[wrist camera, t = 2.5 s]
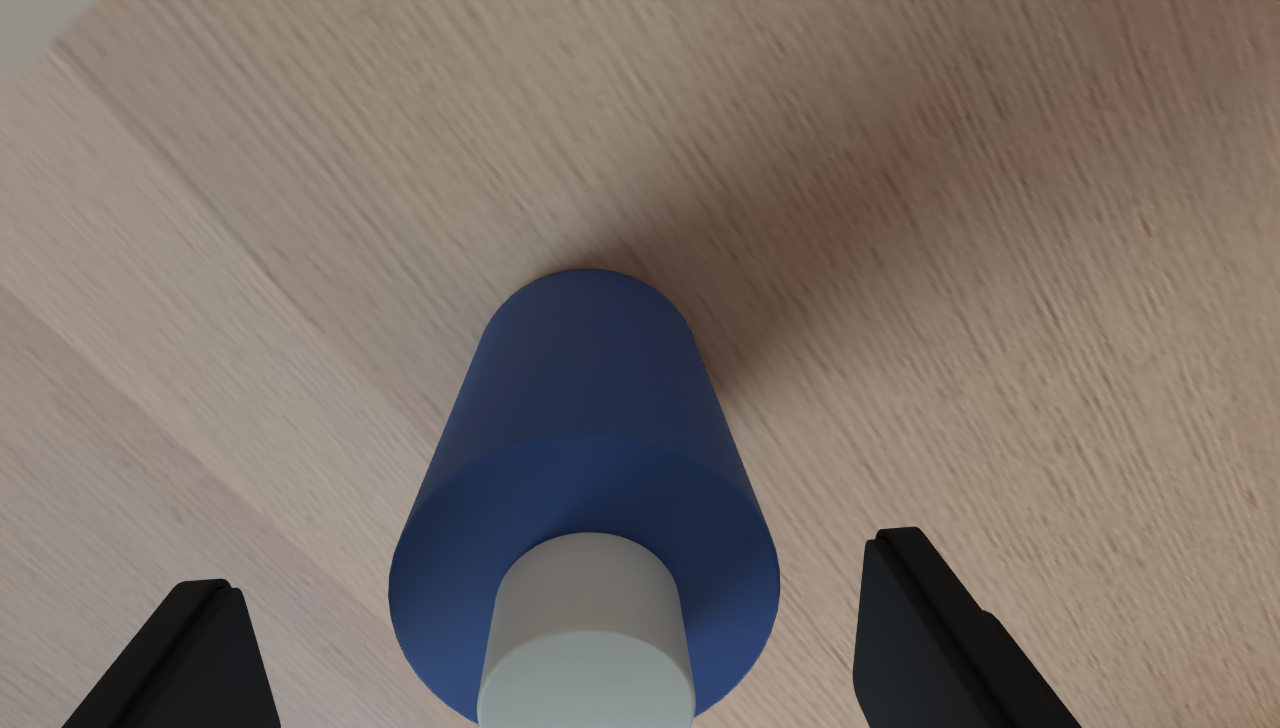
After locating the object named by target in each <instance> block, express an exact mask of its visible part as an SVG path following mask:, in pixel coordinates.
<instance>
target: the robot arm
mask: <svg viewBox="0 0 1280 728" xmlns="http://www.w3.org/2000/svg"><path fill="white" fill-rule="evenodd" d="M853 685H854V690H855V694H856V697H857V700H858V702H859V704H860V707H861V709H862V711H863V713H864V716H865V718H866V720H867V722H868V724H869V727H870V728H1082V727H1081V726H1080V724H1079V723H1078V722H1077V721H1076V719H1075V718H1074V717H1073V715H1072V714H1071V713H1070V712H1069V710H1068V709H1067V708H1066V706H1065V705H1064V704H1063V703H1062V701H1061V700H1060V699H1059V697H1058V696H1057V695H1056V694H1055V692H1054V691H1053V690H1052V688H1051V687H1050V686H1049V685H1048V683H1047V682H1046V681H1045V679H1044V678H1043V677H1042V676H1041V674H1040V673H1039V672H1038V670H1037V669H1036V668H1035V667H1034V665H1033V664H1032V663H1031V661H1030V660H1029V659H1028V657H1027V656H1026V655H1025V654H1024V652H1023V651H1022V650H1021V648H1020V647H1019V646H1018V645H1017V643H1016V642H1015V641H1014V639H1013V638H1012V637H1011V636H1010V634H1009V633H1008V632H1007V630H1006V629H1005V628H1004V627H1003V625H1002V624H1001V623H1000V621H999V620H998V619H997V618H996V617H995V616H994V615H993V614H991V613H989V612H987V611H985V610H983V611H982V609H981V608H980V607H979V605H978V604H977V603H976V601H975V600H974V599H973V598H972V596H971V595H970V594H969V592H968V591H967V590H966V588H965V587H964V586H963V584H962V583H961V582H960V580H959V579H958V578H957V576H956V575H955V574H954V573H953V571H952V570H951V569H950V567H949V566H948V565H947V563H946V562H945V561H944V559H943V558H942V557H941V555H940V554H939V553H938V552H937V550H936V549H935V548H934V546H933V545H932V544H931V542H930V541H929V540H928V538H927V537H926V536H925V534H924V533H923V532H922V531H921V530H920V529H919V528H917V527H904V528H890V529H881V530H879V531H878V532H877V534H876V538H875V539H872V540H868V541H867V542H866V545H865V551H864V561H863V572H862V582H861V592H860V602H859V613H858V623H857V633H856V644H855V654H854V664H853ZM62 728H281V724H280V720H279V716H278V713H277V710H276V706H275V703H274V699H273V696H272V692H271V689H270V685H269V682H268V678H267V675H266V672H265V668H264V665H263V661H262V658H261V654H260V651H259V647H258V644H257V641H256V637H255V634H254V630H253V627H252V623H251V620H250V616H249V613H248V609H247V606H246V603H245V599H244V596H243V593H242V591H241V590H240V589H239V588H231V585H230V583H229V582H228V581H227V580H225V579H209V580H196V581H184V582H181V583H178V584H177V585H176V586H175V587H174V588H173V589H172V590H171V592H170V593H169V594H168V595H167V597H166V598H165V599H164V600H163V602H162V603H161V604H160V605H159V607H158V608H157V609H156V610H155V612H154V613H153V614H152V615H151V617H150V618H149V619H148V620H147V622H146V623H145V624H144V625H143V627H142V628H141V629H140V630H139V632H138V633H137V634H136V635H135V637H134V638H133V639H132V640H131V641H130V643H129V644H128V645H127V646H126V648H125V649H124V650H123V651H122V653H121V654H120V655H119V656H118V658H117V659H116V660H115V661H114V663H113V664H112V665H111V666H110V668H109V669H108V670H107V671H106V673H105V674H104V675H103V676H102V678H101V679H100V680H99V681H98V683H97V684H96V685H95V686H94V688H93V689H92V690H91V691H90V693H89V694H88V695H87V696H86V698H85V699H84V700H83V701H82V703H81V704H80V705H79V706H78V708H77V709H76V710H75V711H74V713H73V714H72V715H71V716H70V718H69V719H68V720H67V721H66V723H65V724H64V725H63V726H62Z"/></svg>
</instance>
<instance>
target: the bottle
mask: <svg viewBox="0 0 1280 728" xmlns="http://www.w3.org/2000/svg"><path fill="white" fill-rule="evenodd" d="M779 596H780V568H779V563H778V558H777V553H776V548H775V546H774V543H773V540H772V537H771V535H770V532H769V529H768V527H767V524H766V522H765V519H764V517H763V514H762V511H761V509H760V506H759V504H758V501H757V499H756V496H755V494H754V491H753V488H752V486H751V483H750V481H749V478H748V476H747V473H746V471H745V468H744V465H743V463H742V460H741V458H740V455H739V453H738V450H737V448H736V445H735V442H734V440H733V437H732V435H731V432H730V430H729V427H728V424H727V422H726V419H725V417H724V414H723V412H722V409H721V407H720V404H719V401H718V399H717V396H716V394H715V391H714V389H713V386H712V384H711V381H710V378H709V376H708V373H707V371H706V368H705V366H704V363H703V361H702V358H701V355H700V353H699V350H698V348H697V345H696V343H695V340H694V338H693V335H692V333H691V331H690V329H689V327H688V325H687V323H686V321H685V320H684V318H683V317H682V316H681V314H680V313H679V312H678V310H677V309H676V308H675V307H674V306H673V305H672V304H671V303H670V302H669V301H668V300H667V299H666V298H665V297H664V296H663V295H661V294H660V293H659V292H657V291H656V290H655V289H653V288H652V287H650V286H648V285H647V284H645V283H643V282H641V281H639V280H637V279H634V278H632V277H630V276H627V275H623V274H620V273H616V272H612V271H605V270H599V269H578V270H569V271H563V272H559V273H555V274H551V275H549V276H546V277H543V278H541V279H538V280H536V281H534V282H532V283H530V284H529V285H527V286H525V287H523V288H522V289H520V290H519V291H518V292H516V293H515V294H514V295H512V296H511V297H510V298H509V299H508V300H507V301H506V302H505V303H504V304H503V305H502V306H501V307H500V308H499V309H498V311H497V312H496V313H495V314H494V316H493V317H492V318H491V320H490V322H489V324H488V325H487V327H486V329H485V331H484V333H483V335H482V338H481V340H480V343H479V345H478V348H477V350H476V353H475V355H474V358H473V360H472V362H471V365H470V367H469V370H468V372H467V375H466V377H465V380H464V382H463V384H462V387H461V389H460V392H459V394H458V397H457V399H456V402H455V404H454V407H453V409H452V411H451V414H450V416H449V419H448V421H447V424H446V426H445V429H444V431H443V434H442V436H441V438H440V441H439V443H438V446H437V448H436V451H435V453H434V456H433V458H432V460H431V463H430V465H429V468H428V470H427V473H426V475H425V478H424V480H423V483H422V485H421V487H420V490H419V492H418V495H417V497H416V500H415V502H414V505H413V507H412V510H411V512H410V514H409V517H408V519H407V522H406V524H405V527H404V529H403V532H402V534H401V537H400V539H399V542H398V544H397V547H396V549H395V552H394V555H393V560H392V564H391V569H390V574H389V591H388V598H389V606H390V615H391V620H392V623H393V627H394V630H395V634H396V637H397V640H398V642H399V644H400V647H401V649H402V651H403V653H404V655H405V657H406V659H407V661H408V662H409V664H410V665H411V667H412V668H413V670H414V671H415V673H416V674H417V676H418V677H419V678H420V679H421V680H422V681H423V682H424V684H425V685H426V686H427V687H428V688H429V689H430V690H431V691H432V692H433V693H434V694H435V695H436V696H437V697H438V698H440V699H441V700H442V701H443V702H444V703H445V704H447V705H448V706H449V707H451V708H452V709H454V710H455V711H457V712H458V713H460V714H461V715H463V716H464V717H466V718H467V719H469V720H471V721H473V722H475V723H477V724H479V726H480V728H691V726H692V723H693V719H694V717H696V716H698V715H700V714H701V713H703V712H705V711H706V710H708V709H709V708H710V707H712V706H713V705H714V704H716V703H717V702H718V701H720V700H721V699H723V698H724V697H725V696H726V695H727V694H728V693H729V692H730V691H731V690H732V689H733V688H734V687H735V686H737V685H738V684H739V682H740V681H741V680H742V679H743V678H744V676H745V675H746V674H747V673H748V672H749V670H750V669H751V668H752V667H753V665H754V664H755V662H756V660H757V659H758V657H759V656H760V654H761V653H762V651H763V649H764V647H765V645H766V642H767V640H768V638H769V636H770V634H771V631H772V628H773V625H774V621H775V618H776V614H777V610H778V603H779Z"/></svg>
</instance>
